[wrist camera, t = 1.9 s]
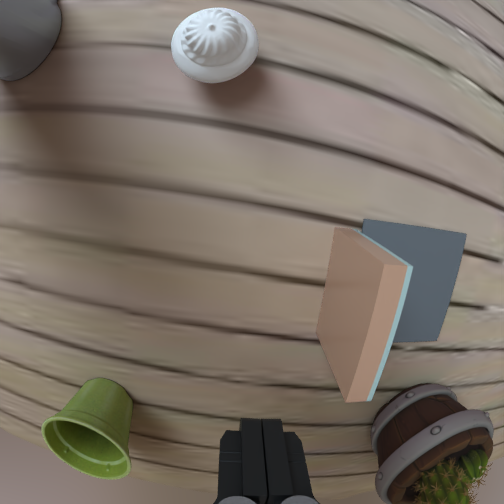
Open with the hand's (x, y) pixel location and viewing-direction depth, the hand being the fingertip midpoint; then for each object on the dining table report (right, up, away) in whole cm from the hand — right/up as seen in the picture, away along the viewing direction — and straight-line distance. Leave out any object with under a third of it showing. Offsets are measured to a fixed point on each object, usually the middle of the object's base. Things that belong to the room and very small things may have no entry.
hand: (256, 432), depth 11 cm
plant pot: (-16, -9, +20) cm, 27 cm away
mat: (+15, +3, +17) cm, 23 cm away
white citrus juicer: (-3, +22, +12) cm, 25 cm away
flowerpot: (+20, -13, +23) cm, 33 cm away
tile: (+7, +4, +17) cm, 19 cm away
